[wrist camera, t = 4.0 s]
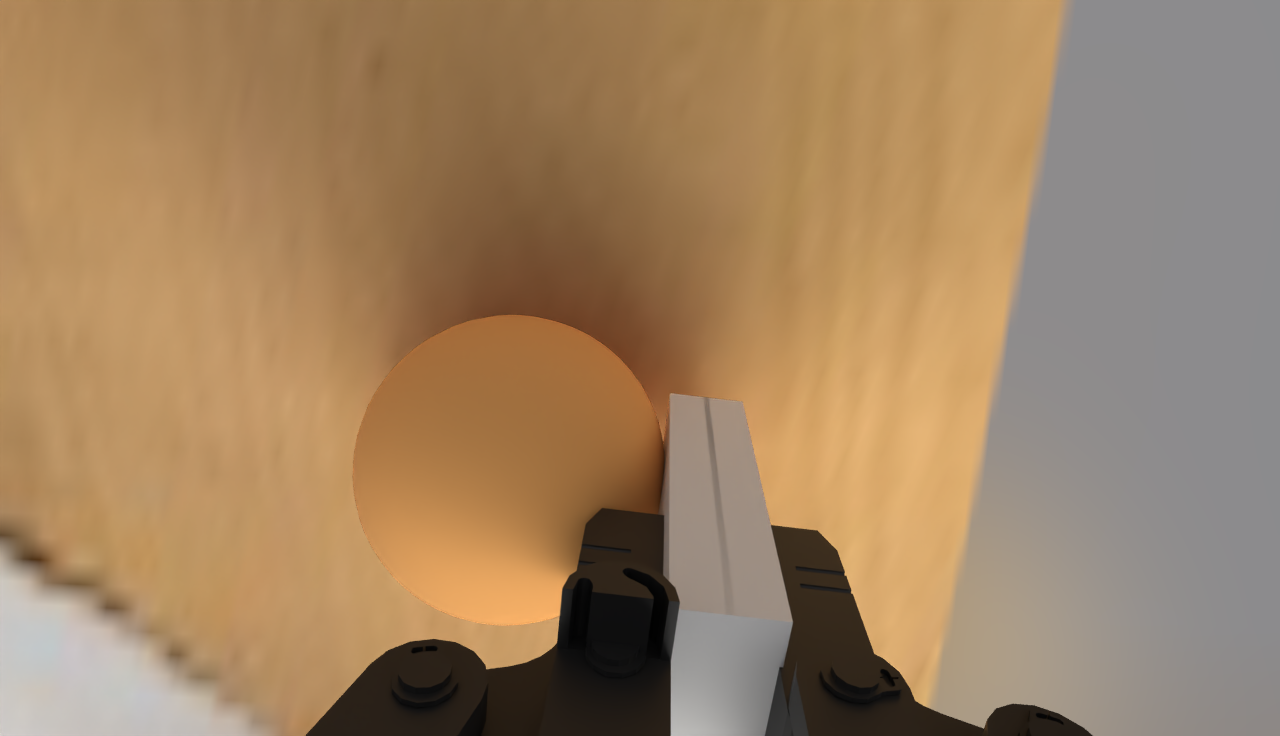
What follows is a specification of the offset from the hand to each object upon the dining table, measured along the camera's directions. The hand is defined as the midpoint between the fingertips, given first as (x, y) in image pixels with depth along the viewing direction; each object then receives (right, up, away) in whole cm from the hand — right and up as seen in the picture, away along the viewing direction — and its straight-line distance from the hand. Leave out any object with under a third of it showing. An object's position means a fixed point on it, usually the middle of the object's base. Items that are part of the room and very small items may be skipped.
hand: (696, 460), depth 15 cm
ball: (-3, 0, -1) cm, 4 cm away
